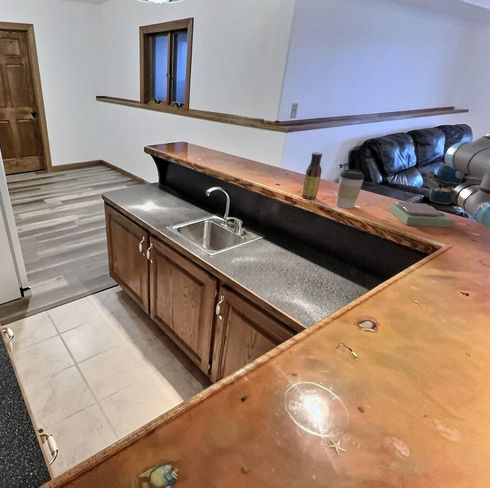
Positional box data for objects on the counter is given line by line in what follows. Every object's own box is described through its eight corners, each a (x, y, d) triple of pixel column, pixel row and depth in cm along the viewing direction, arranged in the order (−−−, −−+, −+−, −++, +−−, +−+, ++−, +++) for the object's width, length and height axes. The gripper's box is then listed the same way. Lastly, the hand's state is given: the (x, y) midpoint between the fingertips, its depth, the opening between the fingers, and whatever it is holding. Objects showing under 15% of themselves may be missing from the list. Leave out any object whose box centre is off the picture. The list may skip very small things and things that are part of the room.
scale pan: (425, 205, 138) (426, 203, 138) (440, 215, 129) (441, 213, 128) (395, 203, 140) (396, 202, 139) (408, 213, 130) (409, 211, 130)
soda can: (457, 205, 112) (473, 168, 106) (434, 204, 113) (448, 167, 107) (445, 198, 118) (459, 162, 113) (423, 197, 119) (436, 161, 113)
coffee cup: (350, 211, 142) (359, 174, 135) (328, 205, 148) (337, 170, 141) (360, 206, 147) (370, 171, 140) (339, 200, 153) (347, 166, 146)
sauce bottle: (306, 194, 160) (314, 150, 151) (318, 198, 156) (328, 153, 147) (298, 197, 156) (306, 152, 148) (311, 201, 152) (320, 155, 143)
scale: (428, 212, 141) (430, 205, 140) (449, 227, 128) (452, 219, 127) (388, 210, 143) (391, 203, 142) (405, 224, 130) (408, 216, 128)
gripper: (427, 206, 101) (404, 184, 121) (510, 214, 96) (473, 190, 115) (436, 181, 98) (412, 162, 117) (523, 188, 93) (482, 167, 112)
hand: (442, 176), depth 116 cm, fingers closed on soda can, 7 cm apart
